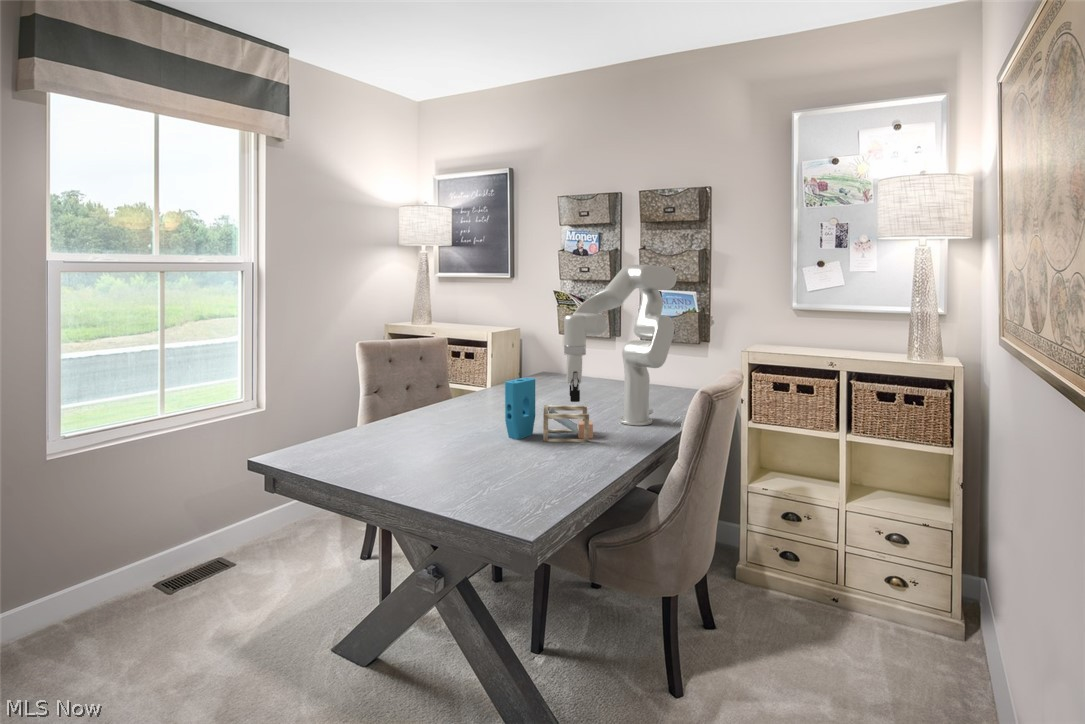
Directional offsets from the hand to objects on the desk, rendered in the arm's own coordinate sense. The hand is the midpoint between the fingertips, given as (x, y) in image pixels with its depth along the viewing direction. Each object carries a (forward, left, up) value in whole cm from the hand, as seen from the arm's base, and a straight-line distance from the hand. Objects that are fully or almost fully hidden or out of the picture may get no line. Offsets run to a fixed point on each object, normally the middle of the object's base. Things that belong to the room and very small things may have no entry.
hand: (574, 398), depth 224 cm
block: (+12, -15, -14) cm, 23 cm away
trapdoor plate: (+3, -3, -8) cm, 9 cm away
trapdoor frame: (+2, -2, -14) cm, 14 cm away
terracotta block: (-1, +1, -11) cm, 11 cm away
